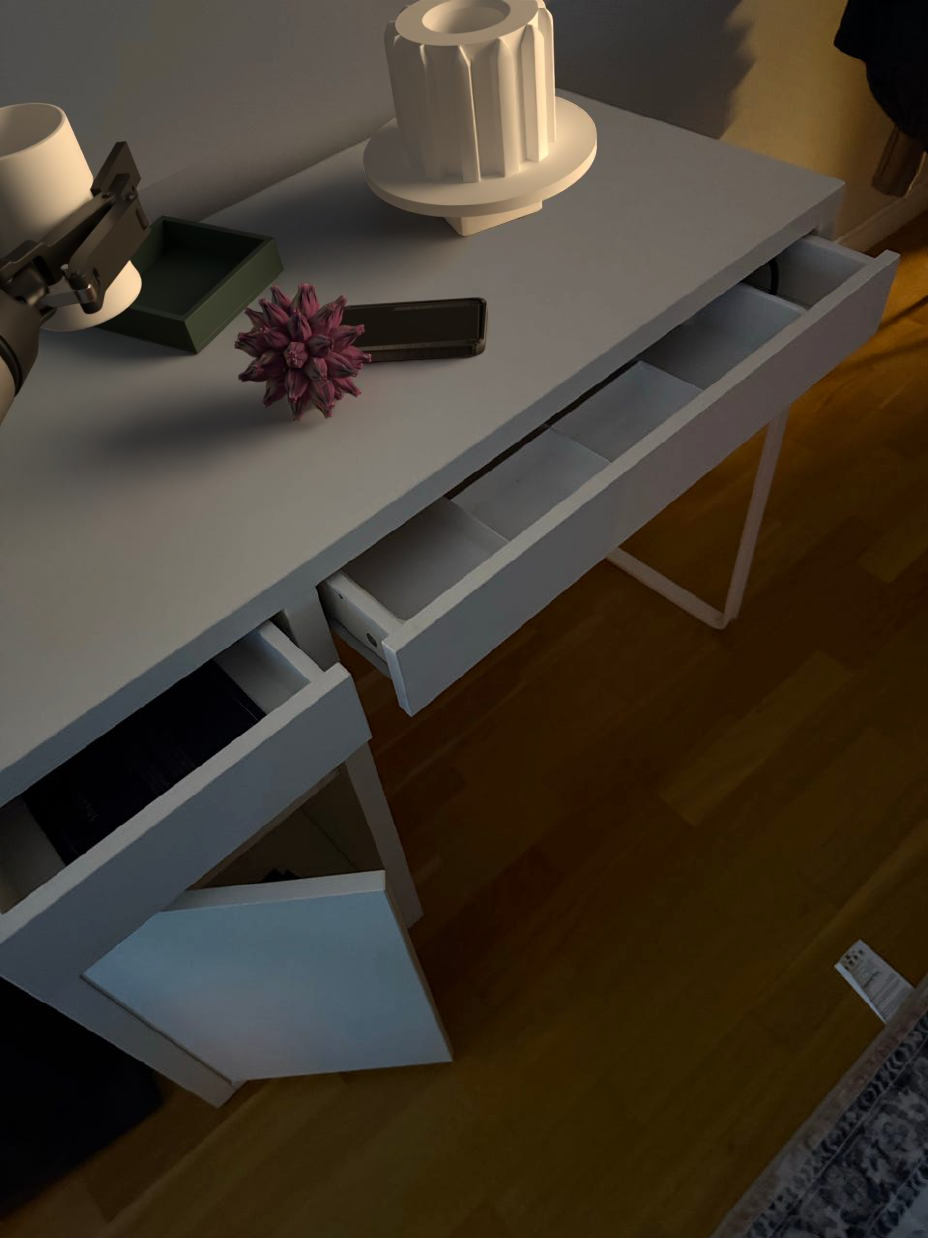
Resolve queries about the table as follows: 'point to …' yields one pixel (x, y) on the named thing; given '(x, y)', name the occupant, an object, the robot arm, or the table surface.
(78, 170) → the mug
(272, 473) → the table surface
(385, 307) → the phone
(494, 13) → the flanged gear
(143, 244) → the bin
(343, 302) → the flower
